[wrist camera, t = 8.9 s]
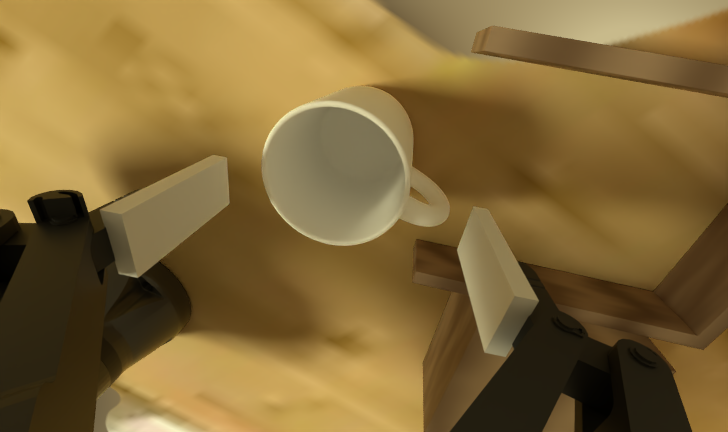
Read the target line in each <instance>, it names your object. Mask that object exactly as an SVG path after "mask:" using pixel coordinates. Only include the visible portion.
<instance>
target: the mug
mask: <svg viewBox="0 0 728 432" xmlns="http://www.w3.org/2000/svg"><path fill="white" fill-rule="evenodd" d="M413 146H414V136H413V129H412V125H411V121H410V119H409V116H408V114H407V113H406V111H405V109H404V108H403V106H402V105H401V104H400V103H399V102H398V101H397V100H396V99H395V98H394V97H393V96H391V95H390V94H389V93H387V92H385V91H383V90H381V89H378V88H375V87H371V86H352V87H348V88H344V89H342V90H339V91H336V92H334V93H331V94H329V95H326V96H324V97H321V98H319V99H316V100H314V101H311V102H309V103H306V104H304V105H301V106H299V107H297V108H295V109H293V110H292V111H290V112H288V113H287V114H286V115H285V116H283V117H282V118H281V119H280V120H279V121H278V122H277V124H276V125H275V126H274V128H273V129H272V130H271V132H270V134H269V136H268V138H267V140H266V143H265V146H264V149H263V155H262V178H263V182H264V186H265V189H266V192H267V195H268V197H269V199H270V201H271V203H272V205H273V206H274V208H275V209H276V211H277V212H278V213H279V214H280V216H281V217H282V218H283V219H284V220H285V221H286V222H287V223H288V224H289V225H290V226H292V227H293V228H294V229H295V230H297V231H298V232H300V233H301V234H303V235H305V236H307V237H309V238H311V239H313V240H316V241H318V242H322V243H325V244H330V245H337V246H349V245H357V244H362V243H365V242H368V241H371V240H373V239H375V238H377V237H379V236H381V235H382V234H384V233H385V232H386V231H388V230H389V229H390V228H391V227H392V226H393V225H394V224H395V223H396V222H397V220H398V219H401V220H403V221H406V222H408V223H411V224H415V225H419V226H424V227H433V226H437V225H440V224H442V223H443V222H444V221H446V219H447V218H448V216H449V213H450V205H449V202H448V199H447V197H446V196H445V194H444V193H443V191H442V190H441V189H440V188H439V186H438V185H437V184H436V183H435V182H433V181H432V180H431V179H430V178H429V177H427V176H426V175H425V174H423V173H422V172H420V171H419V170H417V169H416V168H414V167H413V166H412V161H413ZM411 187H412V188H414V189H415V190H416V191H418V192H419V193H420V194H421V195H423V196H424V198H425V199H426V200H427V201H428V202H429V204H430V205H428V204H425V203H423V202H420V201H418V200H416V199H415V198H413V197H411V196H410V188H411Z"/></svg>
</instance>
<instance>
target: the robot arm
mask: <svg viewBox="0 0 728 432" xmlns="http://www.w3.org/2000/svg"><path fill="white" fill-rule="evenodd" d="M27 202H28V204H29V206H30V209H31V211H32V213H33V216H34V218H35V221H36V223H18V221H17V218H16V216H15V214H14V213H13V211H10V210H5V209H0V432H93V431H94V420H95V410H96V400H98V398H99V397H100V396H101V395H102V394H103V393H104V392H105V391H106V390H107V388H109V387H110V386H111V384H112V383H113V382H114V381H115V380H116V379H117V378H118V377H119V376H120V375H121V374H122V373H123V372H124V371H125V370H126V369H127V368H129V367H130V366H132V365H133V364H135V363H136V362H138V361H139V360H141V359H142V358H144V357H146V356H147V355H149V354H150V353H151V352H153V351H154V350H156V349H157V348H159V347H160V346H161V345H164V344H165V343H167V342H169V341H171V340H172V339H173V338H174V337H175V336H176V335H177V334H178V333H179V332H180V331H181V330H182V329H183V327H184V326H185V325H186V324H187V323H188V321H189V319H190V315H191V306H190V302H189V299H188V296H187V294H186V292H185V290H184V288H183V287H182V285H181V284H180V282H179V281H178V280H177V279H176V277H175V276H174V275H173V274H172V273H171V272H170V271H169V270H168V269H167V268H165V267H164V266H163V265H162V264H161V263H159V262H158V261H159V260H161V259H162V258H163V257H164V256H166V255H167V254H168V253H169V252H171V251H172V250H173V249H174V248H176V247H177V246H178V245H179V244H181V243H182V242H183V241H184V240H185V239H187V238H188V237H189V236H190V235H192V234H193V233H194V232H195V231H197V230H198V229H199V228H200V227H202V226H203V225H204V224H205V223H207V222H208V221H209V220H210V219H211V218H213V217H214V216H215V215H216V214H218V213H219V212H220V211H221V210H223V209H224V208H225V207H226V206H228V205H229V204H230V200H229V184H228V168H227V157H222V156H217V155H211V156H209V157H207V158H205V159H203V160H201V161H199V162H197V163H195V164H193V165H191V166H189V167H187V168H185V169H182V170H180V171H178V172H176V173H174V174H172V175H170V176H168V177H166V178H164V179H162V180H160V181H158V182H156V183H154V184H151V185H149V186H147V187H145V188H143V189H139V190H135V191H133V192H131V193H129V194H126V195H124V197H120V198H118V199H116V200H115V201H112V202H110V203H108V204H105V205H103V206H101V207H99V208H97V209H95V210H93V211H91V212H89V213H88V210H87V207H86V204H85V201H84V198H83V195H82V193H80V192H78V191H73V190H56V191H49V192H45V193H41V194H38V195H35V196H33V197H31V198H30V199H29V200H27ZM457 252H458V256H459V259H460V263H461V267H462V271H463V274H464V278H465V282H466V285H467V289H468V293H469V297H470V300H471V304H472V308H473V312H474V315H475V319H476V323H477V326H478V330H479V334H480V338H481V341H482V345H483V349H484V353H489V354H493V355H498V356H503V357H506V356H507V354H508V352H509V351H510V349H511V347H512V346H513V348H514V350H513V352H512V353H511V354H510V356H509V357H508V358H507V359H506V361H505V362H504V363H503V364H502V366H501V367H500V368H499V370H498V371H497V372H496V373H495V375H494V376H493V377H492V378H491V380H490V381H489V382H488V383H487V385H486V386H485V387H484V389H483V390H482V391H481V392H480V394H479V395H478V396H477V397H476V399H475V400H474V401H473V403H472V404H471V405H470V406H469V408H468V409H467V410H466V411H465V413H464V414H463V415H462V417H461V418H460V419H459V420H458V422H457V423H456V424H455V425H454V427H453V428H452V429H451V431H450V432H542V431H543V429H544V427H545V425H546V423H547V421H548V419H549V417H550V415H551V413H552V411H553V409H554V407H555V405H556V403H557V401H558V399H559V397H560V395H561V393H563V394H565V395H567V396H569V397H571V398H573V399H575V423H574V432H692V430H691V427H690V424H689V421H688V418H687V415H686V412H685V409H684V406H683V403H682V401H681V398H680V395H679V392H678V389H677V386H676V383H675V380H674V377H673V374H672V371H671V369H670V368H669V366H668V364H667V363H666V362H665V361H664V360H663V359H662V358H661V357H660V356H659V355H658V354H657V353H656V352H655V351H653V350H652V349H650V348H649V347H646V346H644V345H642V344H641V343H638V342H636V341H633V340H630V339H620V340H618V341H617V342H616V344H615V345H614V346H613V347H611V346H609V345H606V344H604V343H602V342H599V341H597V340H595V339H592V338H590V337H588V333H587V331H586V329H585V328H584V327H583V326H582V325H581V323H580V322H579V321H577V320H576V319H574V318H573V317H572V316H570V315H568V314H566V313H564V312H561V311H559V309H558V308H557V306H556V305H555V303H554V301H553V300H552V298H551V296H550V295H549V293H548V292H547V290H546V289H545V287H544V285H543V283H542V282H540V281H541V280H540V278H539V277H538V275H537V274H536V272H535V271H534V270H533V269H532V268H531V267H530V266H528V265H527V264H526V263H523V262H518V261H517V260H516V258H515V257H514V255H513V253H512V251H511V249H510V248H509V246H508V244H507V242H506V240H505V239H504V237H503V235H502V233H501V231H500V230H499V228H498V226H497V224H496V222H495V221H494V219H493V217H492V215H491V213H490V211H489V210H488V209H485V208H480V207H475V206H473V209H472V211H471V214H470V217H469V219H468V222H467V225H466V227H465V230H464V233H463V235H462V238H461V241H460V243H459V246H458V249H457Z"/></svg>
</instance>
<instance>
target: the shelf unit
mask: <svg viewBox="0 0 728 432" xmlns="http://www.w3.org/2000/svg"><path fill="white" fill-rule="evenodd" d="M471 52H472V53H478V54H484V55H489V56H495V57H500V58H506V59H512V60H517V61H523V62H529V63H534V64H540V65H546V66H551V67H557V68H562V69H568V70H574V71H579V72H585V73H591V74H596V75H602V76H608V77H613V78H619V79H625V80H630V81H636V82H642V83H647V84H653V85H658V86H664V87H670V88H675V89H681V90H687V91H692V92H698V93H704V94H709V95H715V96H721V97H726V98H728V66H726V65H720V64H715V63H709V62H703V61H697V60H691V59H685V58H679V57H674V56H668V55H662V54H656V53H650V52H644V51H638V50H632V49H627V48H621V47H615V46H609V45H603V44H597V43H591V42H585V41H579V40H574V39H568V38H562V37H556V36H550V35H544V34H538V33H532V32H527V31H521V30H515V29H509V28H503V27H497V26H491V27H488V28H486V29H484V30H482V31H479V32H477V33H476V37H475V40H474V44H473V47H472V51H471ZM457 249H458V248H454V247H450V246H445V245H441V244H436V243H432V242H427V241H423V240H418V239H416V242H415V246H414V249H413V283H417V284H421V285H425V286H430V287H434V288H438V289H443V290H447V291H451V294H450V297H449V299H448V302H447V304H446V307H445V309H444V312H443V314H442V317H441V319H440V322H439V324H438V327H437V329H436V332H435V334H434V337H433V339H432V342H431V344H430V347H429V349H428V351H427V354H426V356H425V359H424V361H423V411H424V432H450V431H451V429H452V428H453V427H454V425H455V424H456V423H457V422H458V420H459V419H460V418H461V417H462V415H463V414H464V413H465V411H466V410H467V409H468V408H469V406H470V405H471V404H472V403H473V401H474V400H475V399H476V397H477V396H478V395H479V394H480V392H481V391H482V390H483V389H484V387H485V386H486V385H487V383H488V382H489V381H490V380H491V378H492V377H493V376H494V375H495V373H496V372H497V371H498V370H499V368H500V367H501V366H502V364H503V363H504V362H505V361H506V359H507V358H508V357H509V356H510V354H511V353H512V352H513V350H514V348H513V346H512V347H511V349H510V351H509V352H508V354H507V356H506V357H503V356H498V355H493V354H489V353H484V349H483V345H482V341H481V338H480V334H479V330H478V326H477V323H476V319H475V315H474V312H473V308H472V304H471V300H470V297H469V293H468V289H467V285H466V282H465V278H464V274H463V271H462V267H461V263H460V259H459V256H458V252H457ZM527 265H528V266H530V267H531V268H532V269H533V270H534V271H535V272H536V274H537V275H538V277H539V278H540V280H541V281H540V282H542V283H543V285H544V287H545V289H546V290H547V292H548V293H549V295H550V296H551V298H552V300H553V301H554V303H555V305H556V306H557V308H558V309H559V311H561V312H564V313H566V314H568V315H570V316H572V317H573V318H574V319H576V320H577V321H579V322H580V323H581V325H582V326H583V327H584V328H585V329H586V331H587V333H588V337H590V338H592V339H595V340H597V341H599V342H602V343H604V344H606V345H609V346H611V347H613V346H614V345H615V344H616V342H617V341H618V340H620V339H630V340H633V341H636V342H638V343H641V344H642V345H644V346H646V347H649V348H650V349H652V350H653V351H655V352H656V353H657V354H658V355H659V356H660V357H661V358H662V359H663V360H664V361H665V362H666V363H667V364H668V366H669V368H670V369H671V371H672V374H674V373H675V372H676V371H675V369H674V368H673V367H672V366H671V365H670V363H669V362H668V361H667V360H666V358H665V357H664V356H663V355H662V354H661V352H660V351H659V350H658V349H657V347H656V346H655V345H654V344H653V343H652V341H651V340H650V339H649V338H648V337H650V338H654V339H659V340H663V341H667V342H672V343H676V344H680V345H685V346H689V347H693V348H698V349H702V350H704V349H705V348H706V347H707V346H708V345H709V344H710V343H711V342H712V341H714V340H715V339H716V338H717V337H718V336H719V335H720V334H721V333H722V332H723V331H725V330H726V329H727V328H728V204H727V205H726V206H725V208H724V209H723V210H722V211H721V212H720V214H719V215H718V216H717V217H716V218H715V219H714V221H713V222H712V223H711V224H710V225H709V227H708V228H707V229H706V230H705V231H704V232H703V234H702V235H701V236H700V237H699V238H698V240H697V241H696V242H695V243H694V244H693V245H692V247H691V248H690V249H689V250H688V251H687V253H686V254H685V255H684V256H683V257H682V258H681V260H680V261H679V262H678V263H677V264H676V266H675V267H674V268H673V269H672V270H671V271H670V273H669V274H668V275H667V276H666V277H665V279H664V280H663V281H662V282H661V283H660V284H659V286H658V287H657V288H656V289H655V290H654V292H653V291H648V290H644V289H639V288H635V287H630V286H626V285H621V284H617V283H612V282H608V281H603V280H599V279H594V278H590V277H585V276H581V275H576V274H572V273H567V272H562V271H558V270H553V269H549V268H544V267H540V266H535V265H531V264H527ZM574 423H575V399H573V398H571V397H569V396H567V395H565V394H563V393H561V395H560V397H559V399H558V401H557V403H556V405H555V407H554V409H553V411H552V413H551V415H550V417H549V419H548V421H547V423H546V425H545V427H544V429H543V431H542V432H574Z"/></svg>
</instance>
